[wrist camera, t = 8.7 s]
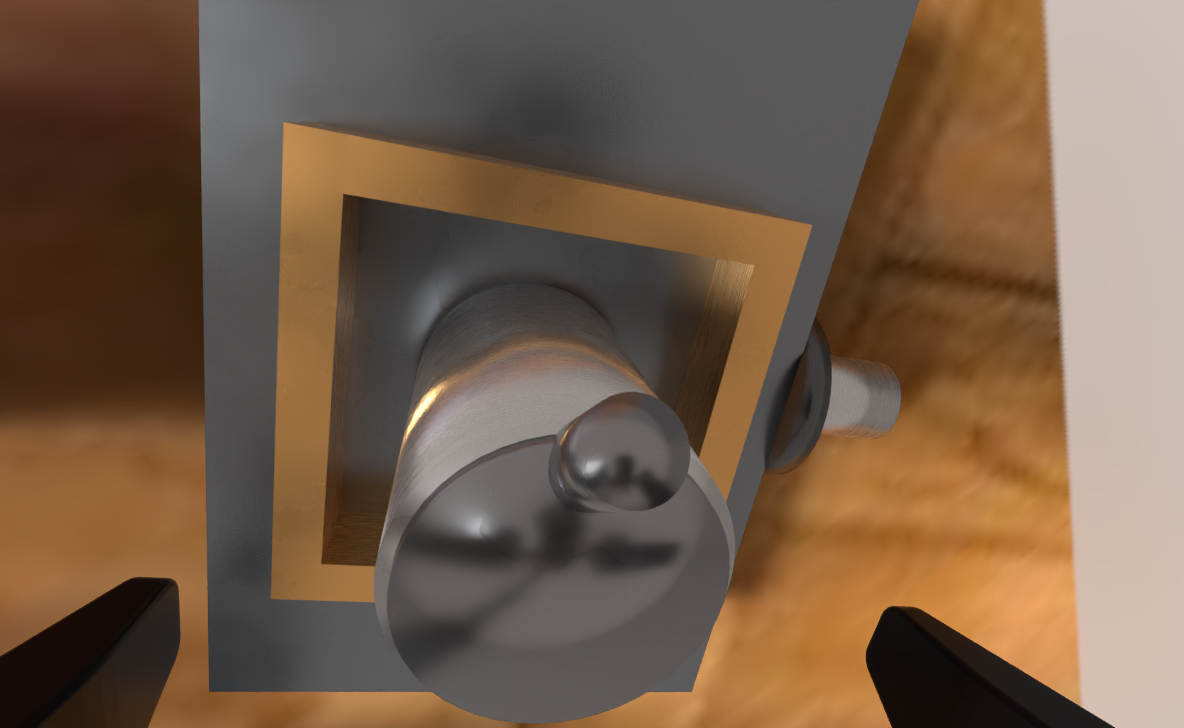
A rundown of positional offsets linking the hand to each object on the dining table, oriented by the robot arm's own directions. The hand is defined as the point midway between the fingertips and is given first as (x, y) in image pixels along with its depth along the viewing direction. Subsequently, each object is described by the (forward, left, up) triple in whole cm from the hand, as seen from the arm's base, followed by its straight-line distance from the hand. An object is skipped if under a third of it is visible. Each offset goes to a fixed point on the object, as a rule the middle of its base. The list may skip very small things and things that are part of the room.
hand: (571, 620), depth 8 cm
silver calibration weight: (0, 0, -8) cm, 8 cm away
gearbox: (+2, 0, -12) cm, 12 cm away
